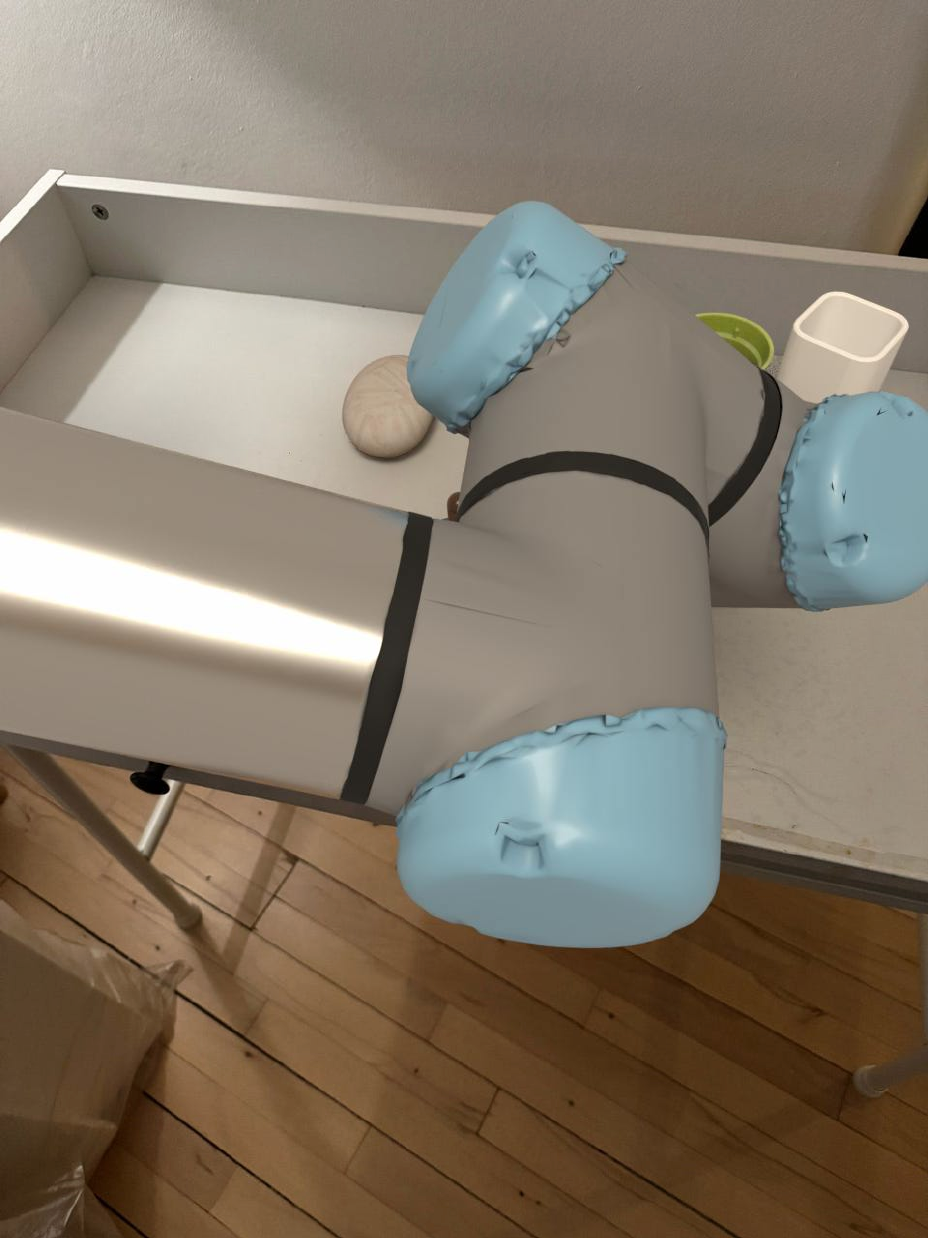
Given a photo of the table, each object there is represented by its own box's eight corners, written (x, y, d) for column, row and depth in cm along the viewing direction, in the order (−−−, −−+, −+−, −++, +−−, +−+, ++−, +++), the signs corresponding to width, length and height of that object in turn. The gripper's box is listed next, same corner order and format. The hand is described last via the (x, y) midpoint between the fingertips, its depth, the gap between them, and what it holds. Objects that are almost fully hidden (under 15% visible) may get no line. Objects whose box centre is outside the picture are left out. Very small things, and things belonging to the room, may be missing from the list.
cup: (853, 458, 77) (917, 319, 65) (813, 503, 74) (873, 366, 62) (782, 424, 80) (831, 285, 68) (741, 466, 77) (785, 328, 65)
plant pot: (743, 462, 77) (766, 387, 70) (642, 442, 79) (655, 368, 72) (757, 397, 82) (780, 321, 75) (662, 380, 84) (676, 305, 77)
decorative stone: (369, 377, 86) (362, 337, 82) (453, 388, 85) (450, 347, 81) (330, 464, 79) (320, 424, 75) (420, 477, 78) (415, 437, 74)
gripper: (561, 683, 40) (382, 658, 61) (744, 518, 45) (522, 548, 66) (481, 553, 38) (325, 574, 59) (683, 397, 43) (473, 467, 64)
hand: (429, 560), depth 63 cm, fingers closed on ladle, 2 cm apart
